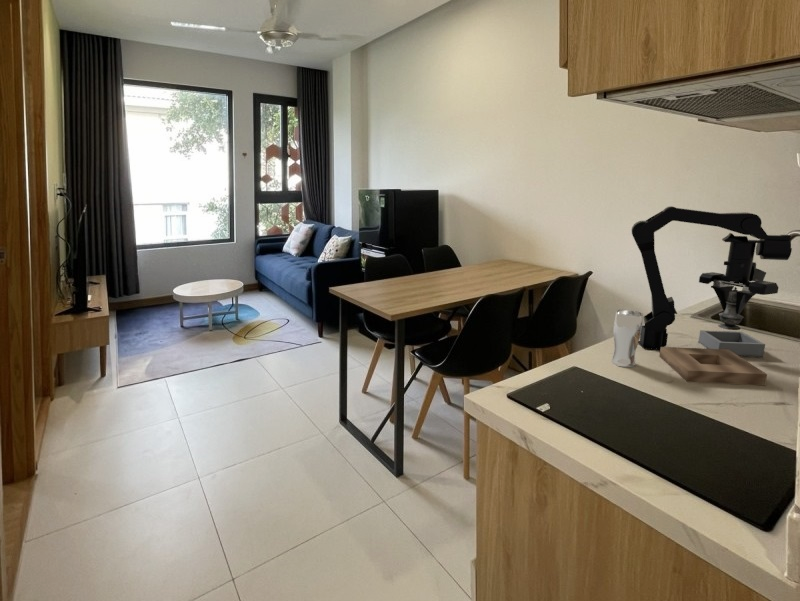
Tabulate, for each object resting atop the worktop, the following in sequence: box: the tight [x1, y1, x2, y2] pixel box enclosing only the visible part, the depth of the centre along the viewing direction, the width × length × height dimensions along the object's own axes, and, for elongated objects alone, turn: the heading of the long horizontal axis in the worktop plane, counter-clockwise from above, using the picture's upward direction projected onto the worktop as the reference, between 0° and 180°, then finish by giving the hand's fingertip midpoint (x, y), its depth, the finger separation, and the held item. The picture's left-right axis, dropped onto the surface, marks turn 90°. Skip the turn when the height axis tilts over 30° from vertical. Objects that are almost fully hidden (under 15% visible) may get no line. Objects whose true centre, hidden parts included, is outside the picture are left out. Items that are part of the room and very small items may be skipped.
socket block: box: [658, 346, 768, 386], centre depth 123 cm, size 18×18×3 cm
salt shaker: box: [717, 286, 745, 331], centre depth 131 cm, size 6×6×12 cm
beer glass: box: [611, 308, 643, 368], centre depth 127 cm, size 7×7×15 cm
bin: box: [698, 329, 766, 358], centre depth 138 cm, size 12×12×4 cm
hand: (731, 312), depth 131 cm, fingers closed on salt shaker, 3 cm apart
